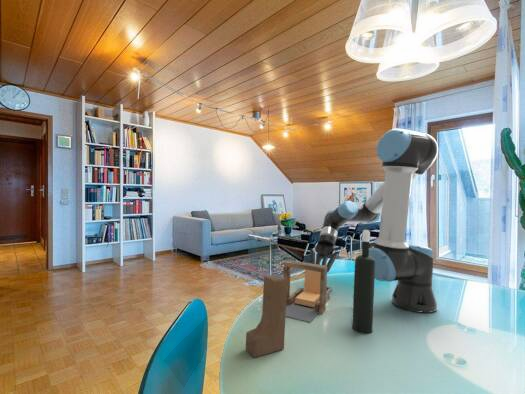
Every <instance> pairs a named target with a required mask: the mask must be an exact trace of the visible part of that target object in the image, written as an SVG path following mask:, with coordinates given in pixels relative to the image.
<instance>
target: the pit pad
mask: <svg viewBox="0 0 525 394" xmlns="http://www.w3.org/2000/svg"><path fill="white" fill-rule="evenodd" d="M332 290H333V287H330V286H326V293H331V292H333V291H332Z"/></svg>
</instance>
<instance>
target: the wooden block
mask: <svg viewBox="0 0 525 394" xmlns="http://www.w3.org/2000/svg"><path fill="white" fill-rule="evenodd" d="M262 290H263V292H262V293H263V294H262V313H261V314H262V315H261V318H260V321H259V323H257V325H256V327H255V328H253V329H251V330H249V331H246V333H245V334H246V335H245V350H246V352H248V353H249V355H251V356H252V358H260V357H262V356H264V355H269V354H272V353H275V352H279V351H281V350H284V348H285V336H286V335H285V334H286V333H285V332H286V317H285V314H286V292H287V279H286V278H284V277H283V276H281V275H280V274H274V275H273V274H272V275H266V276H264V277H263V289H262Z"/></svg>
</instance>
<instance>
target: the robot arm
mask: <svg viewBox="0 0 525 394" xmlns="http://www.w3.org/2000/svg"><path fill="white" fill-rule="evenodd" d="M438 153H439V146H438V142H437V141H436V139H435V138H434V137H433V136H432V135H431V134H428V133H425V132H418V131H415V130H410V129H406V128H392V129H389V130H388V131H386V132H385V133H384V134H383V135H382V136H381V137H380V139H379V141H378V143H377V146H376V155H377V156H378V159H380V160H381V161H382V165H381V168H382V169H383V170H384V171H385V179H384V181H383V182H382V183H381V184H380V186H379V187H378V188H377V189H376V190H375V191H374V192H373V193H372V195H370V197H369V198H368V199H367V200H365V201H364V203H363V204H361V205H357V204H356V203H355V202H353V201H351V200H346V201H345V200H344V202H343V203H341V204H339V206H338V207H336V208H335V209H331V210H328V211H327V212H326V214H325V215H324V218H323V224H322V228H321V230H320V234H319V237H318V240H317V243H316V246H315V247H313V248H312V247H310V248H309V252H310V264H317V265H324V266H327V273H329V272H330V270H331V268H332V266H333V265H334V263H335V260H337V259H338V258H339V254H340V253H339V251H337V250H335V246H336V242H337V237H338V233H339V230H340V227H342V226H344V225H345V224H346V223H348V222H349V223H350V222H358V223H359V222H360V223H361V222H362V223H373V222H377V221H378V220H379V219H380V224H379V231H378V232H379V233H378V237H377V238H376V239H375V240H373V247H372V248H369V256H371V257H372V258H373V259H374V260H375V280H377V281H379V282H388V283H389V282H394V281H396V282H397V283H396V286H395V287H394V290H393V292H392V295H391V302H393V303H394V304H393V303H392V304H393V305H395V304H396V305H397V306H396V305H395V306H396V307H398V306H399V307H398V308H401V307H402V308H401V309H403V308H404V309H403V310H406V309H407V310H406V311H410V310H412V312H415V311H422V312H430V311H434V310H436V309H438V307H437V306H438V304H437V299H436V297H435V295H434V294H435V293H434V291H433V273H434V271H433V270H434V259H435V258H434V250H433V249H432V248H430V247H426V246H421V245H417V244H410V243H407V242H406V233H407V224H408V217H409V206H410V198H411V190H412V181H413V180H414V179H416V177H417V176H422V175H424V173H425V172H427V171H428V170H429V168H430V167H432V165H433V163H434V162H435V160H436V159H437V157H438ZM316 253H317V256H316V260H315V254H316ZM329 257H330V258H329ZM436 311H437V310H436ZM422 312H421V313H422Z"/></svg>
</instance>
